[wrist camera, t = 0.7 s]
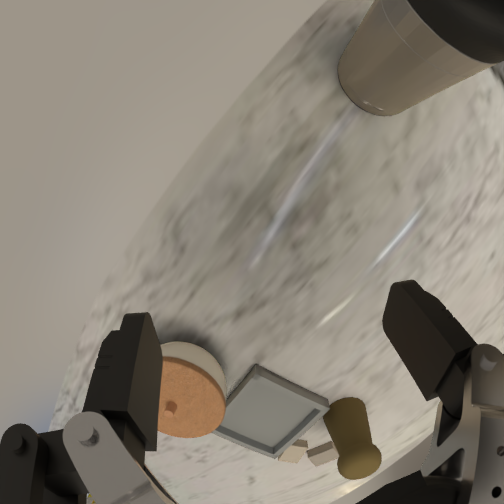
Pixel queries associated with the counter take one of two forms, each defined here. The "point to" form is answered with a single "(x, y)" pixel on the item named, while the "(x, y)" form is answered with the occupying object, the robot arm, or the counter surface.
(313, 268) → the counter surface
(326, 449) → the beige rectangular block
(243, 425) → the parts tray
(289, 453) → the tan block
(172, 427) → the lidded jar
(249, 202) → the counter surface
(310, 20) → the counter surface
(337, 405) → the pepper mill
